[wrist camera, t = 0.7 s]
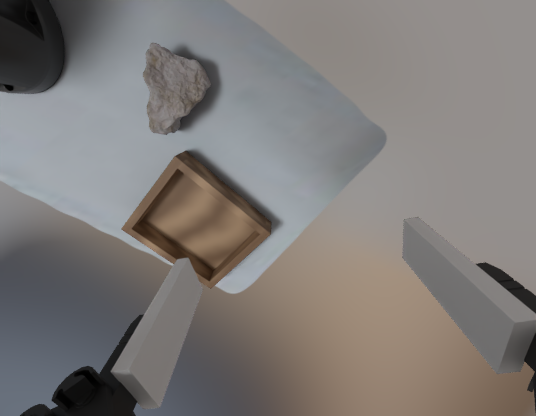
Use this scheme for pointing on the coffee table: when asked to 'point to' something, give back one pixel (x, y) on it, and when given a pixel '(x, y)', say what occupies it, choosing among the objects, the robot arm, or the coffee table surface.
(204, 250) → the tray
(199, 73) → the stone
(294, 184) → the coffee table surface
